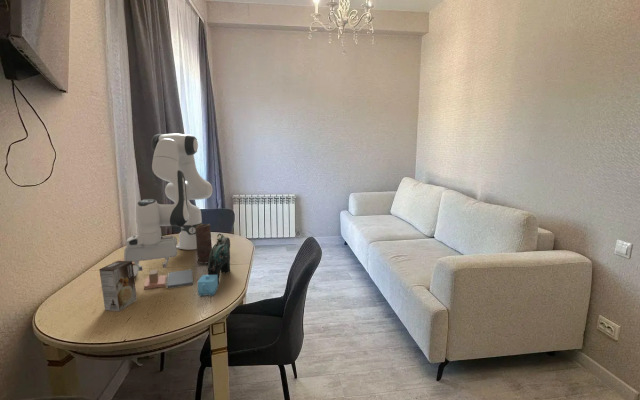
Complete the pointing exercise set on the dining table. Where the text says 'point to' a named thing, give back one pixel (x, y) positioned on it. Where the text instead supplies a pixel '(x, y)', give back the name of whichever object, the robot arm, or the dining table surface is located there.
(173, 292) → the dining table surface
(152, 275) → the light switch
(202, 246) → the candle
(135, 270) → the lidded jar
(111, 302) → the coffee box
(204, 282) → the teapot
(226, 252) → the teal spotted shape
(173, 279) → the grey ring notebook
